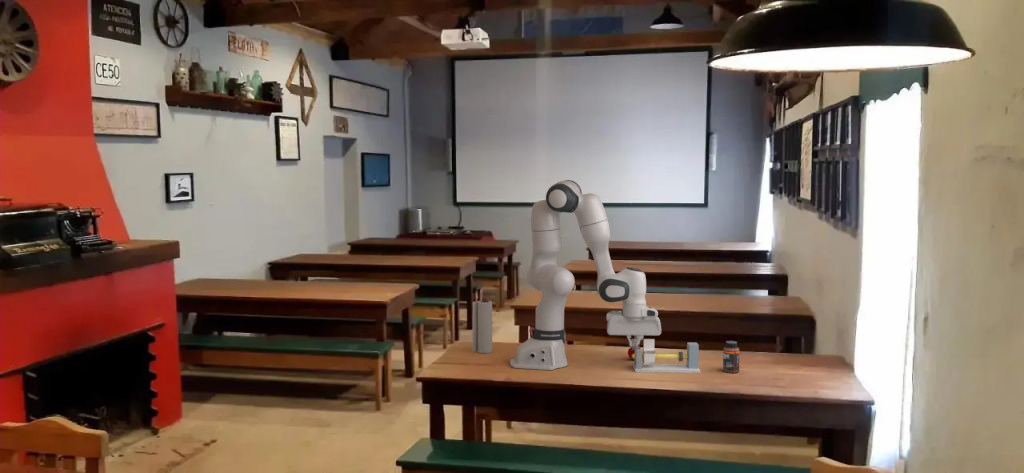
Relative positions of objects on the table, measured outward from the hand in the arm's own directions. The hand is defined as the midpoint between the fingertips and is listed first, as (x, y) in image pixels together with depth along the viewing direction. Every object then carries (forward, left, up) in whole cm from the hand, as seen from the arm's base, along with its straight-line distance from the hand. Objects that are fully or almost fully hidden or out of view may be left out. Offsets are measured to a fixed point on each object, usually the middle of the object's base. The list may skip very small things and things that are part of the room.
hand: (633, 346), depth 299 cm
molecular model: (+2, +15, -9) cm, 18 cm away
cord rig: (+12, 0, -9) cm, 15 cm away
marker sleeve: (+6, 0, -6) cm, 8 cm away
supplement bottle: (+36, -2, -9) cm, 37 cm away
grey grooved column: (-59, +26, -9) cm, 65 cm away
